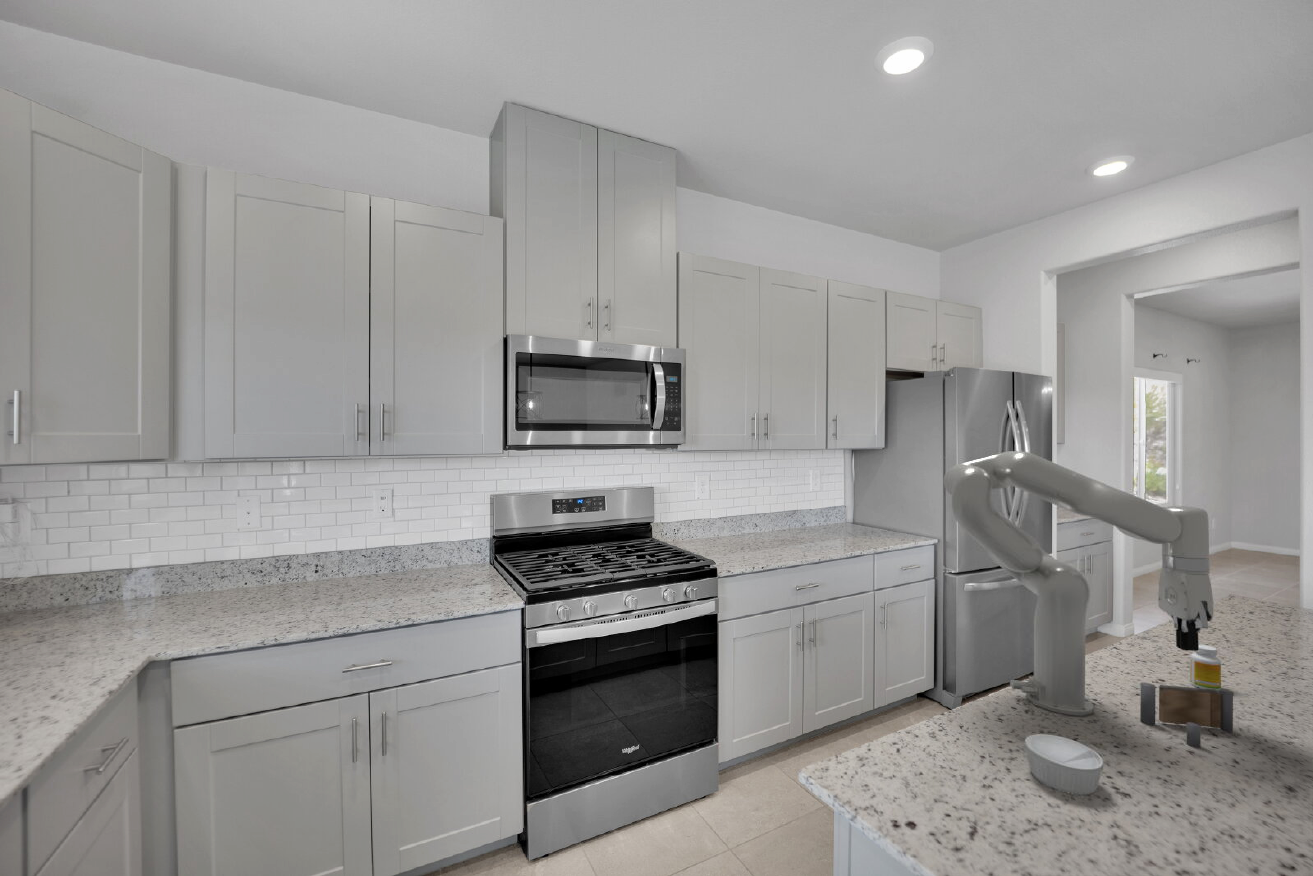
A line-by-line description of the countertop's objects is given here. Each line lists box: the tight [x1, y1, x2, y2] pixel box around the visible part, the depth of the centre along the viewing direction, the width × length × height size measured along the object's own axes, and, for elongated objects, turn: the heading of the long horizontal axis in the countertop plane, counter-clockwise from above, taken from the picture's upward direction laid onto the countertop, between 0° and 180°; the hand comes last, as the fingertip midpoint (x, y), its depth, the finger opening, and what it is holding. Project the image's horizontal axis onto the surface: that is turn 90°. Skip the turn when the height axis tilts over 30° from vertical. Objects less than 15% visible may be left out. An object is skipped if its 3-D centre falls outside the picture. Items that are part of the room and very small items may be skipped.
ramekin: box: [1024, 733, 1104, 795], centre depth 100 cm, size 11×11×5 cm
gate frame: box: [1139, 681, 1202, 749], centre depth 117 cm, size 2×11×8 cm, turn 7°
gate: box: [1158, 684, 1221, 729], centre depth 120 cm, size 10×2×8 cm, turn 79°
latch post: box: [1218, 688, 1234, 733], centre depth 118 cm, size 2×2×8 cm
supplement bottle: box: [1189, 644, 1222, 692], centre depth 140 cm, size 5×5×10 cm
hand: (1187, 649), depth 124 cm, fingers closed
